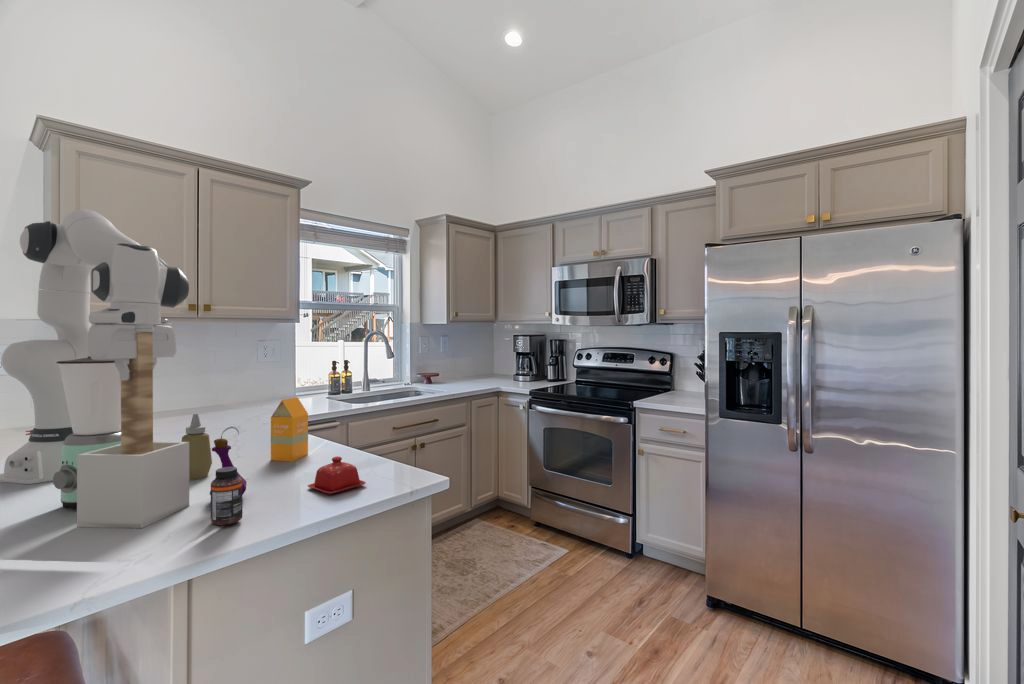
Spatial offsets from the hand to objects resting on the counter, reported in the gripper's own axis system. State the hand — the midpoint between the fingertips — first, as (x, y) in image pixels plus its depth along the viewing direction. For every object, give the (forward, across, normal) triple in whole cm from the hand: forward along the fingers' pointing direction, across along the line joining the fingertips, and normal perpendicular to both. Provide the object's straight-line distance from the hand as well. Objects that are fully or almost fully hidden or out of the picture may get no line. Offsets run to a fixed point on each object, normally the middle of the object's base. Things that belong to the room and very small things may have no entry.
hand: (136, 379), depth 109 cm
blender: (+30, -9, -16) cm, 36 cm away
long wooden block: (+19, 0, 0) cm, 19 cm away
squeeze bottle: (+30, -30, -8) cm, 43 cm away
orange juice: (+30, -52, +8) cm, 61 cm away
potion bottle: (+30, -11, +14) cm, 35 cm away
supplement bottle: (+31, +2, +22) cm, 38 cm away
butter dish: (+31, -23, +36) cm, 53 cm away
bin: (+30, 0, 0) cm, 30 cm away
